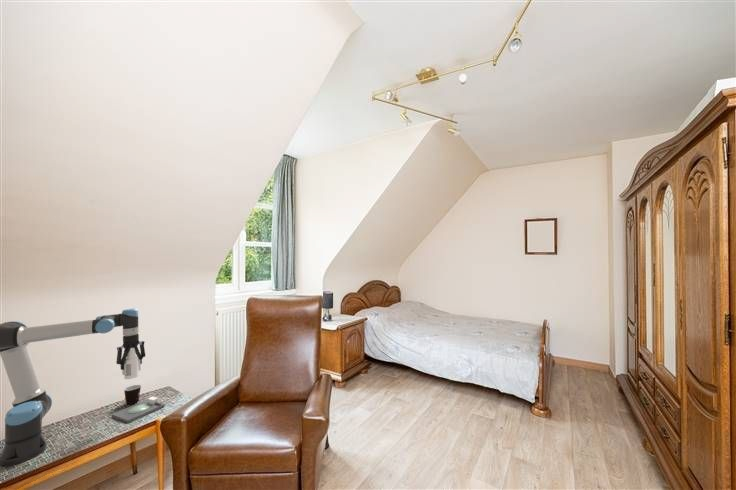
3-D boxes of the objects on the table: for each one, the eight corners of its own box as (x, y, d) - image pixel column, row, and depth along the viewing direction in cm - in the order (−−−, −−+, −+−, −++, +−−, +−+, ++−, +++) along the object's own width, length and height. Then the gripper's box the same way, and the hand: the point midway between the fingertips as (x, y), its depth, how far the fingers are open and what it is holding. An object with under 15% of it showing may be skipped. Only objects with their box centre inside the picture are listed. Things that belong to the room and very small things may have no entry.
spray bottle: (127, 375, 180) (127, 346, 180) (140, 374, 182) (140, 345, 182) (122, 380, 173) (121, 350, 174) (135, 378, 175) (135, 348, 176)
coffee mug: (133, 406, 187) (133, 390, 188) (120, 406, 187) (120, 390, 188) (147, 397, 199) (147, 382, 199) (135, 397, 199) (135, 383, 199)
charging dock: (127, 423, 168) (127, 415, 168) (111, 416, 175) (111, 409, 175) (164, 406, 186) (164, 399, 186) (148, 401, 193) (148, 394, 194)
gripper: (114, 339, 168) (115, 379, 167) (152, 330, 185) (152, 367, 185) (107, 338, 171) (108, 377, 170) (145, 329, 189) (146, 365, 188)
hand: (131, 372), depth 178 cm, fingers closed on spray bottle, 7 cm apart
